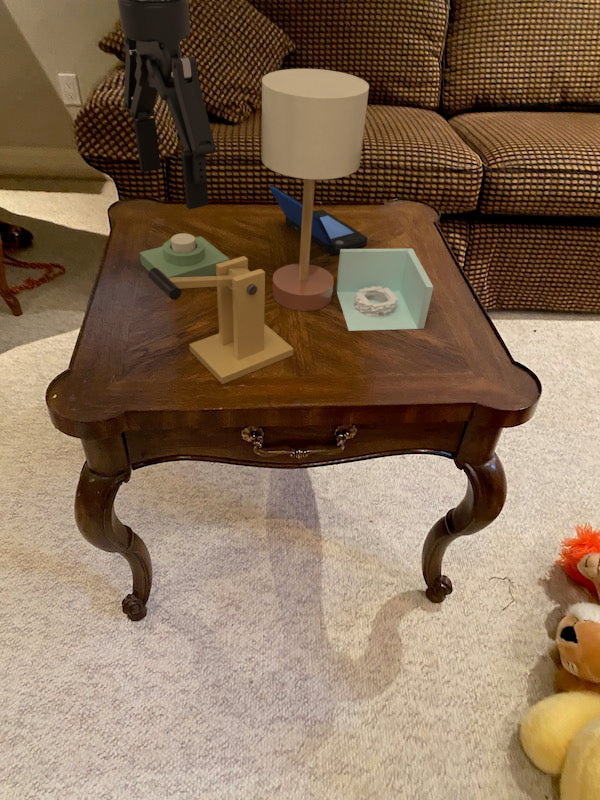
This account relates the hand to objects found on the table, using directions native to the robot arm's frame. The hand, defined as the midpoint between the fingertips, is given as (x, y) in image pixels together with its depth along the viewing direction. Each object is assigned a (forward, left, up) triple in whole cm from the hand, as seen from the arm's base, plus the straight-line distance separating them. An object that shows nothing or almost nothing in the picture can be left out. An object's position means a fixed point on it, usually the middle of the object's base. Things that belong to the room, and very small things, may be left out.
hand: (173, 187), depth 78 cm
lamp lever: (-3, -13, -8) cm, 16 cm away
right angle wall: (+27, -15, -20) cm, 37 cm away
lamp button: (+7, +13, -17) cm, 22 cm away
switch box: (+7, +13, -20) cm, 25 cm away
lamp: (+19, -5, -20) cm, 28 cm away
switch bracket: (+2, -13, -20) cm, 24 cm away
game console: (+34, +10, -20) cm, 41 cm away
